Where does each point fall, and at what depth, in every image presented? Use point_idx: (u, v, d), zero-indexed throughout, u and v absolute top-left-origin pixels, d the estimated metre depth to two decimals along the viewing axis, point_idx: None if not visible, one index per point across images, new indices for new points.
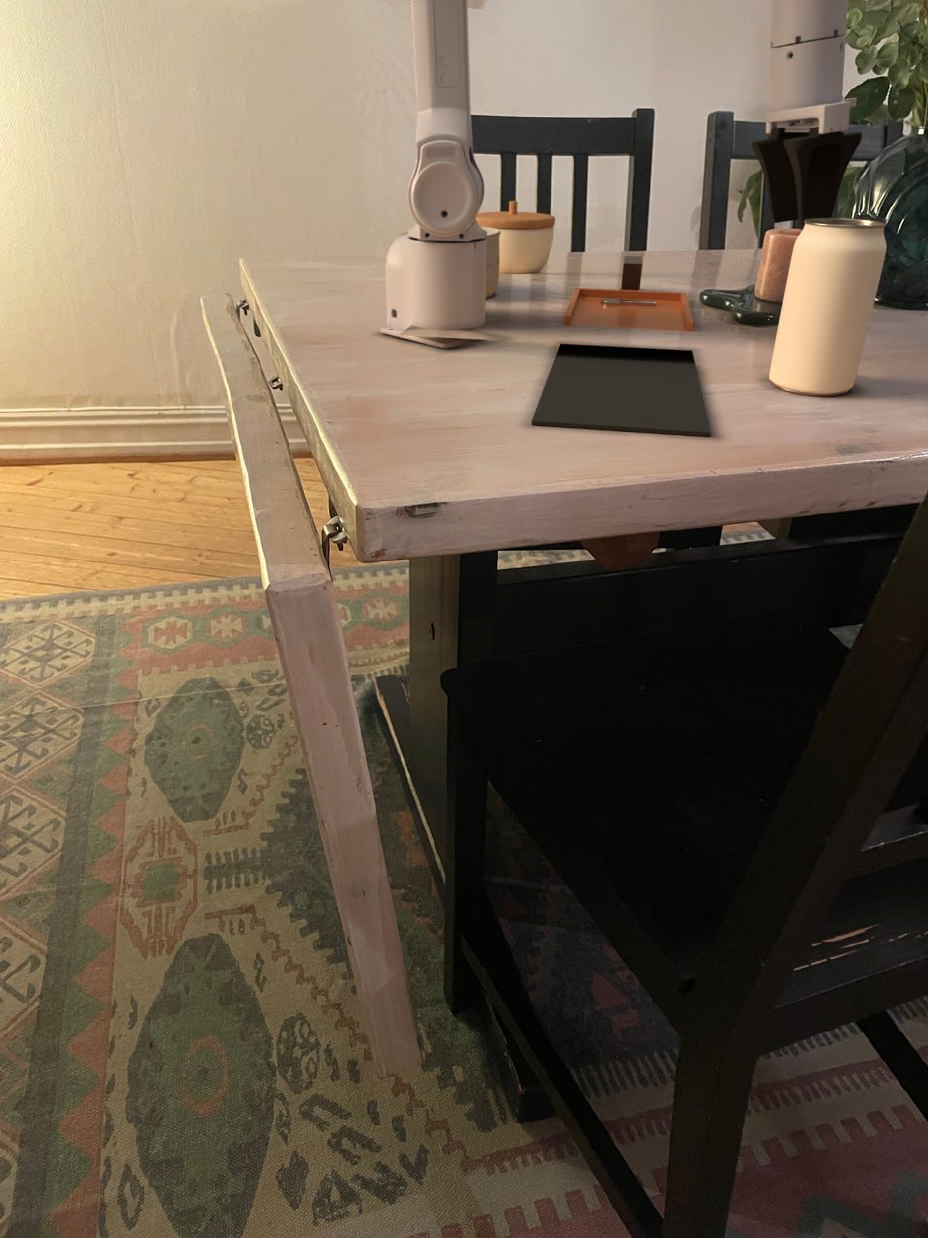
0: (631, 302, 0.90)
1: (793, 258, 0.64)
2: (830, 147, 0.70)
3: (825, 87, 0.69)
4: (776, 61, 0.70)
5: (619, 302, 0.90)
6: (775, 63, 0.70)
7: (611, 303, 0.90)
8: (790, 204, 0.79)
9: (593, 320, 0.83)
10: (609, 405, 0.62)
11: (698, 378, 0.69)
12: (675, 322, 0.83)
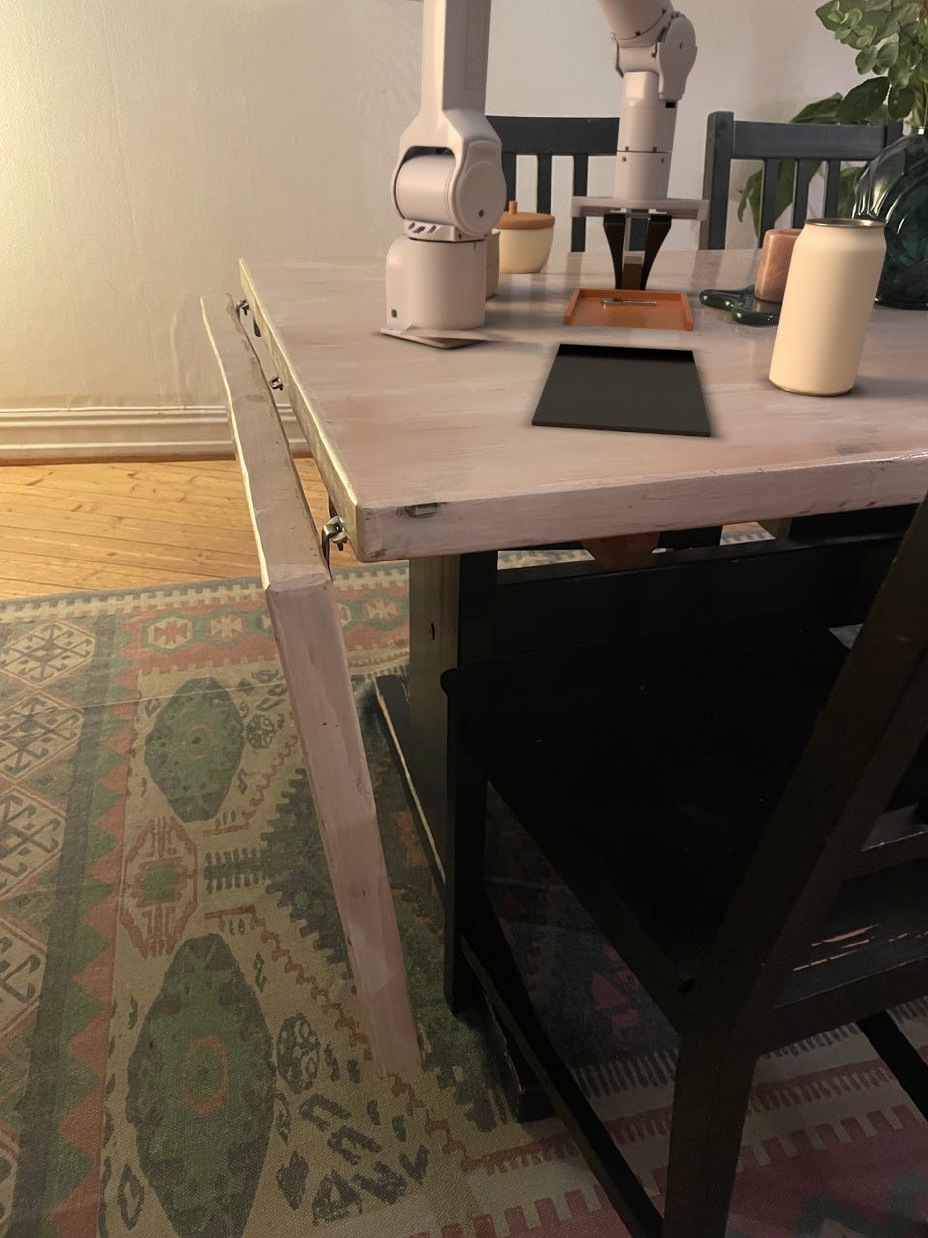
0: (631, 302, 0.90)
1: (793, 258, 0.64)
2: None
3: None
4: (652, 163, 0.88)
5: (619, 302, 0.90)
6: (650, 164, 0.88)
7: (611, 303, 0.90)
8: (622, 274, 0.97)
9: (593, 320, 0.83)
10: (609, 405, 0.62)
11: (698, 378, 0.69)
12: (675, 322, 0.83)
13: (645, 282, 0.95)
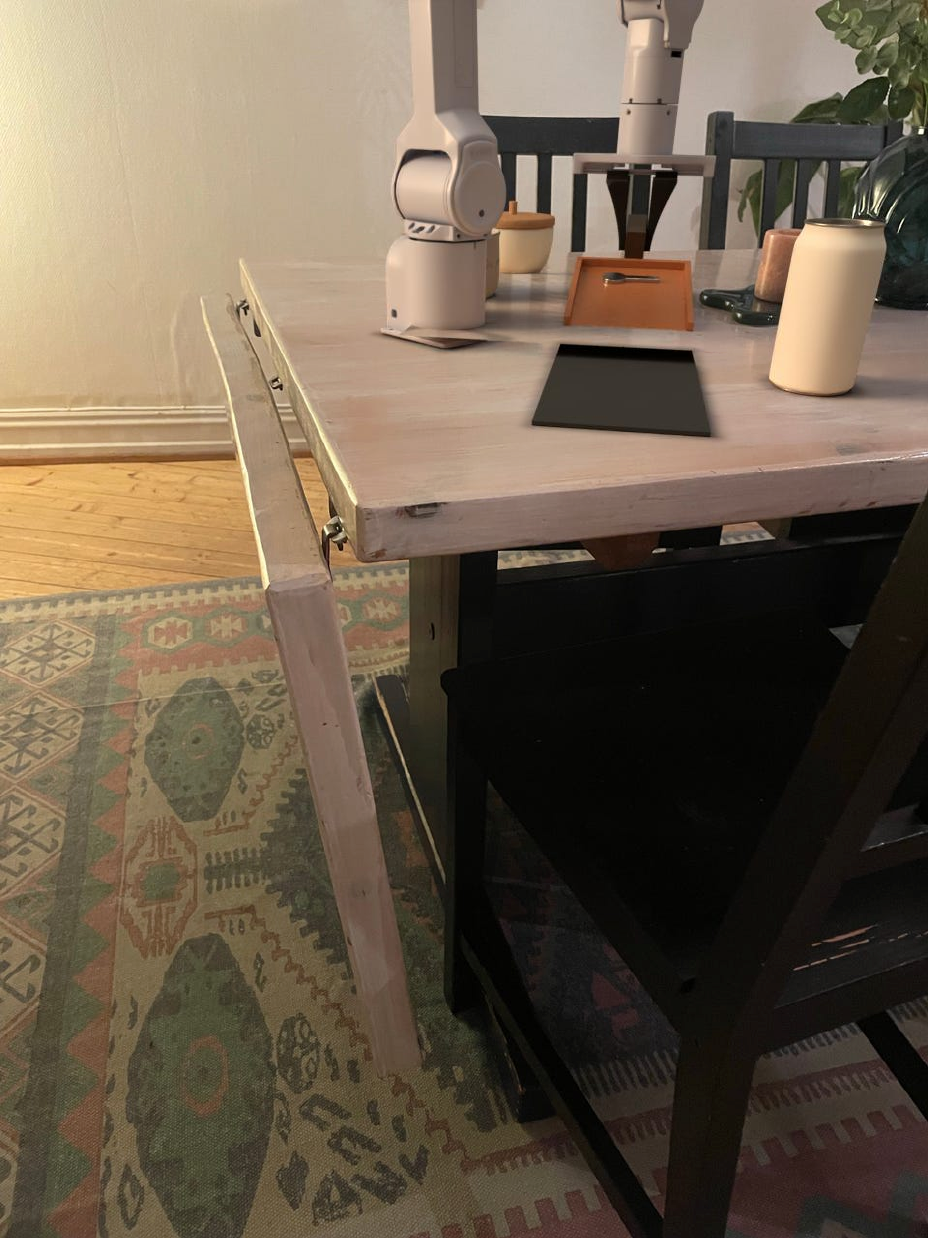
0: (633, 279, 0.89)
1: (793, 258, 0.64)
2: None
3: None
4: (657, 115, 0.85)
5: (621, 280, 0.89)
6: (655, 116, 0.85)
7: (613, 281, 0.89)
8: None
9: (593, 314, 0.83)
10: (609, 405, 0.62)
11: (698, 378, 0.69)
12: (676, 315, 0.82)
13: (650, 242, 0.92)
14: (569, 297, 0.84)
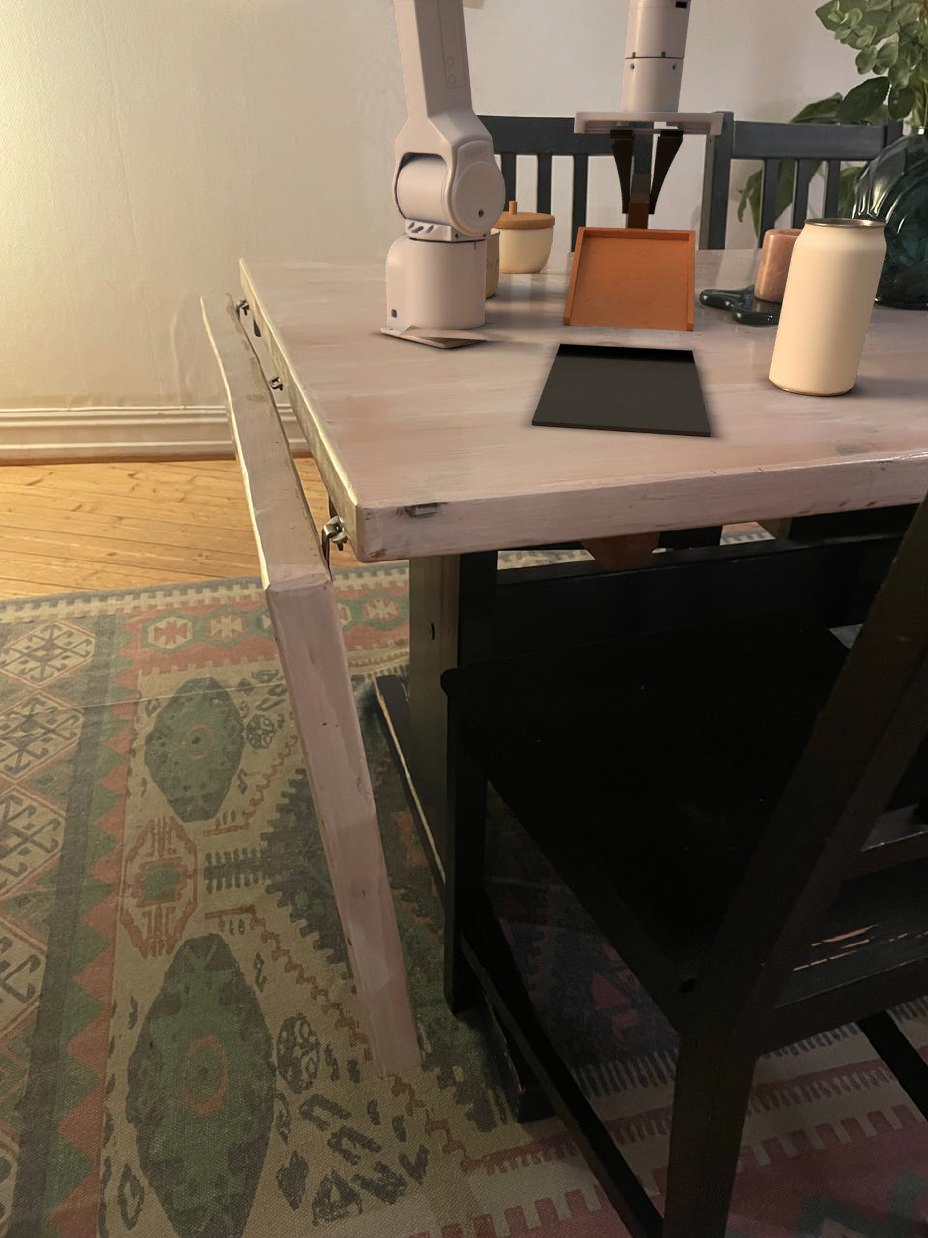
0: None
1: (793, 258, 0.64)
2: None
3: None
4: (662, 70, 0.82)
5: None
6: (660, 71, 0.82)
7: None
8: None
9: (594, 309, 0.83)
10: (609, 405, 0.62)
11: (698, 378, 0.69)
12: (677, 308, 0.82)
13: (654, 204, 0.89)
14: (569, 289, 0.84)
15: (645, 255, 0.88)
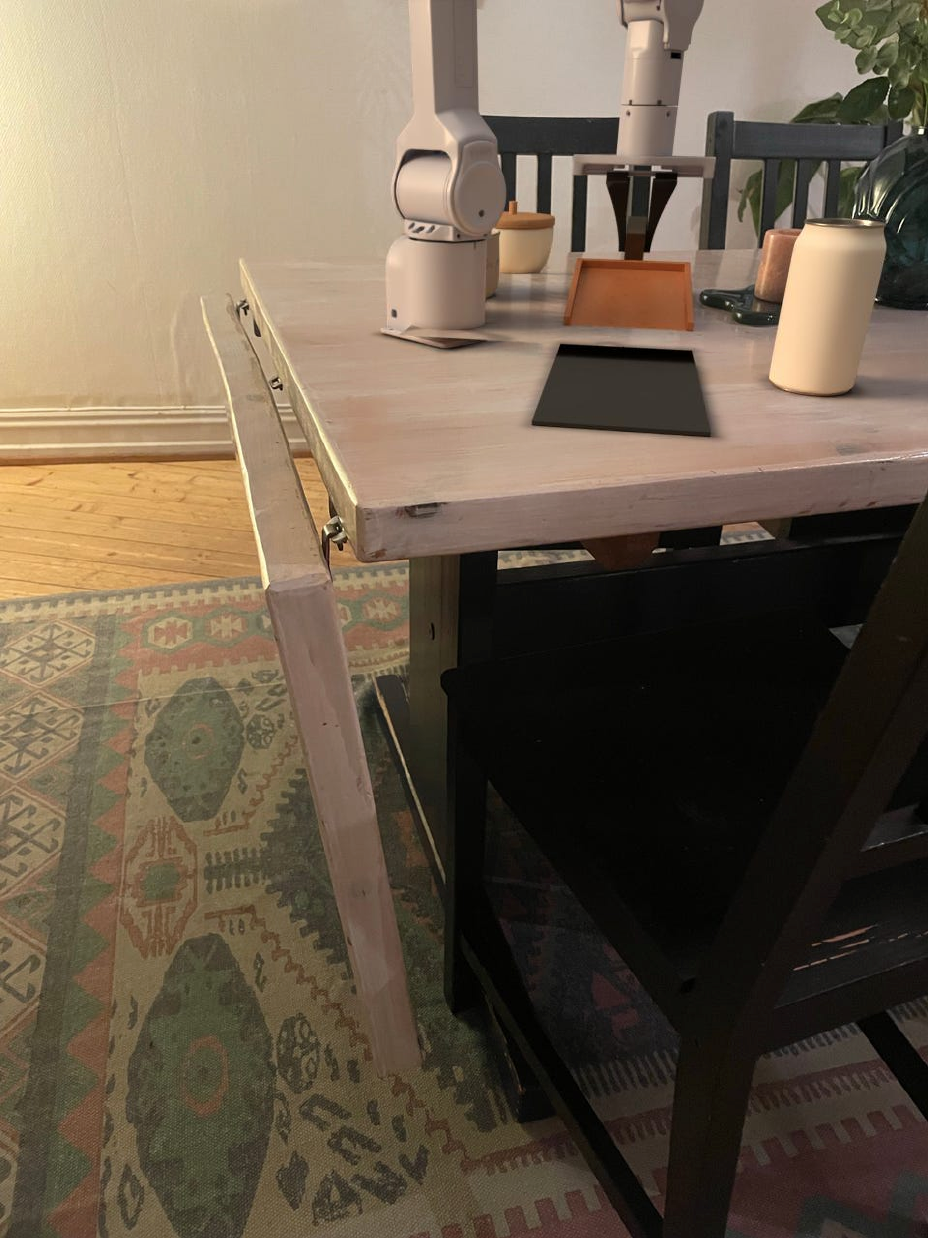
0: None
1: (793, 258, 0.64)
2: None
3: None
4: (657, 117, 0.85)
5: None
6: (655, 118, 0.85)
7: None
8: None
9: (593, 315, 0.83)
10: (609, 405, 0.62)
11: (698, 378, 0.69)
12: (676, 315, 0.83)
13: (650, 243, 0.92)
14: (569, 297, 0.84)
15: (642, 280, 0.90)
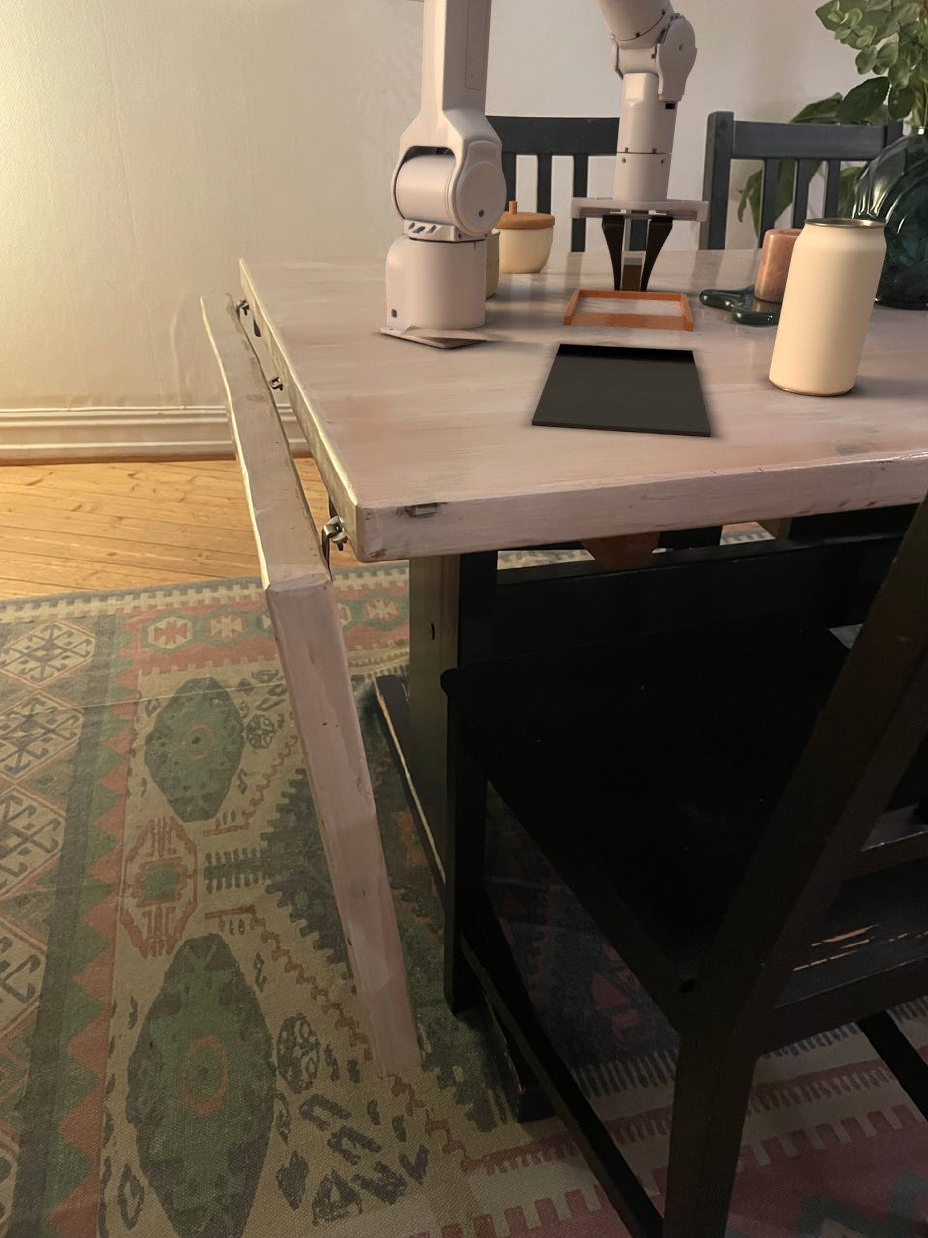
0: None
1: (793, 258, 0.64)
2: None
3: None
4: (652, 164, 0.88)
5: None
6: (650, 165, 0.88)
7: None
8: None
9: (593, 320, 0.83)
10: (609, 405, 0.62)
11: (698, 378, 0.69)
12: (675, 322, 0.83)
13: (646, 283, 0.95)
14: (568, 307, 0.85)
15: None
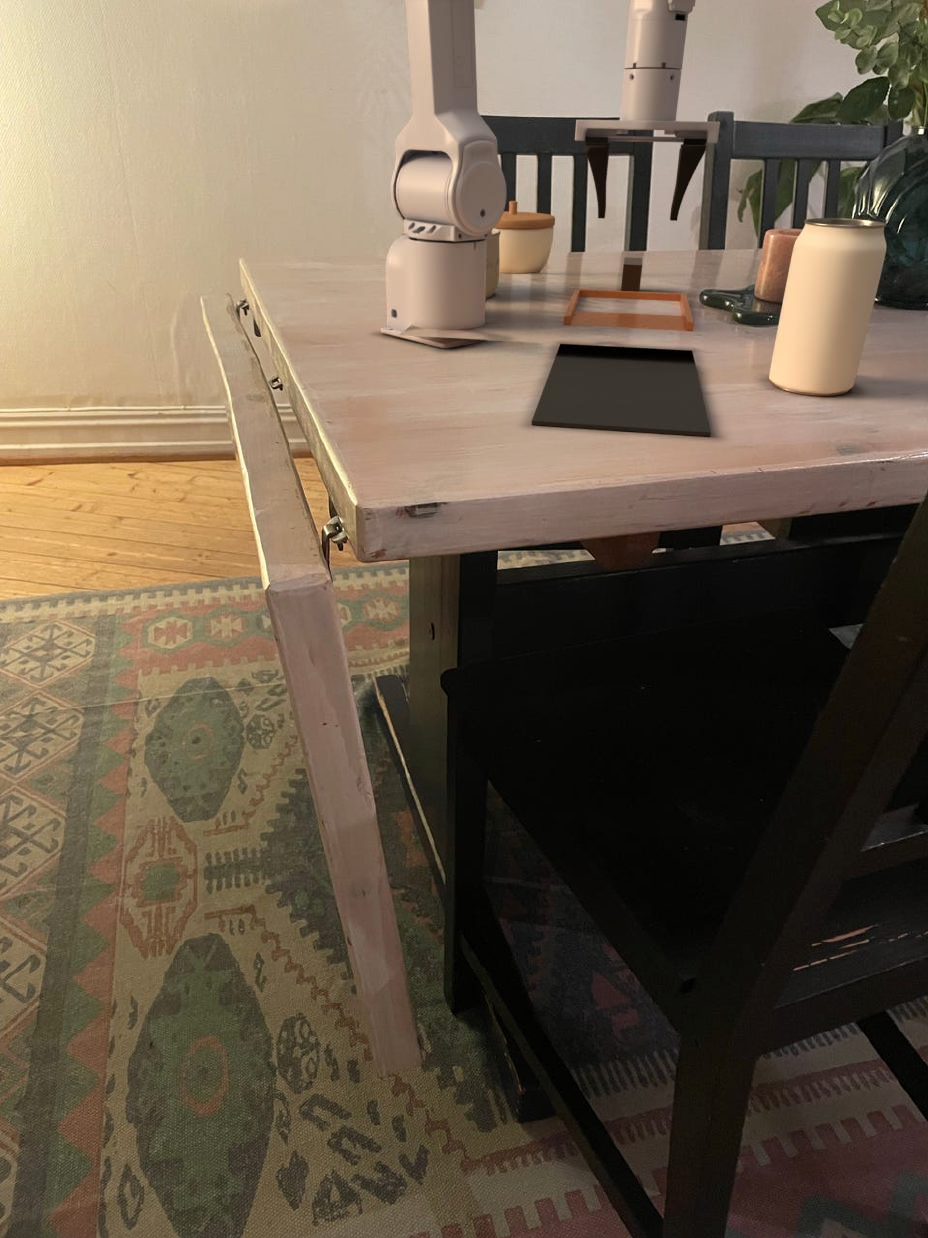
0: None
1: (793, 258, 0.64)
2: None
3: None
4: (661, 80, 0.84)
5: None
6: (659, 81, 0.84)
7: None
8: None
9: (593, 320, 0.83)
10: (609, 405, 0.62)
11: (698, 378, 0.69)
12: (675, 322, 0.83)
13: (677, 211, 0.91)
14: (568, 307, 0.85)
15: None
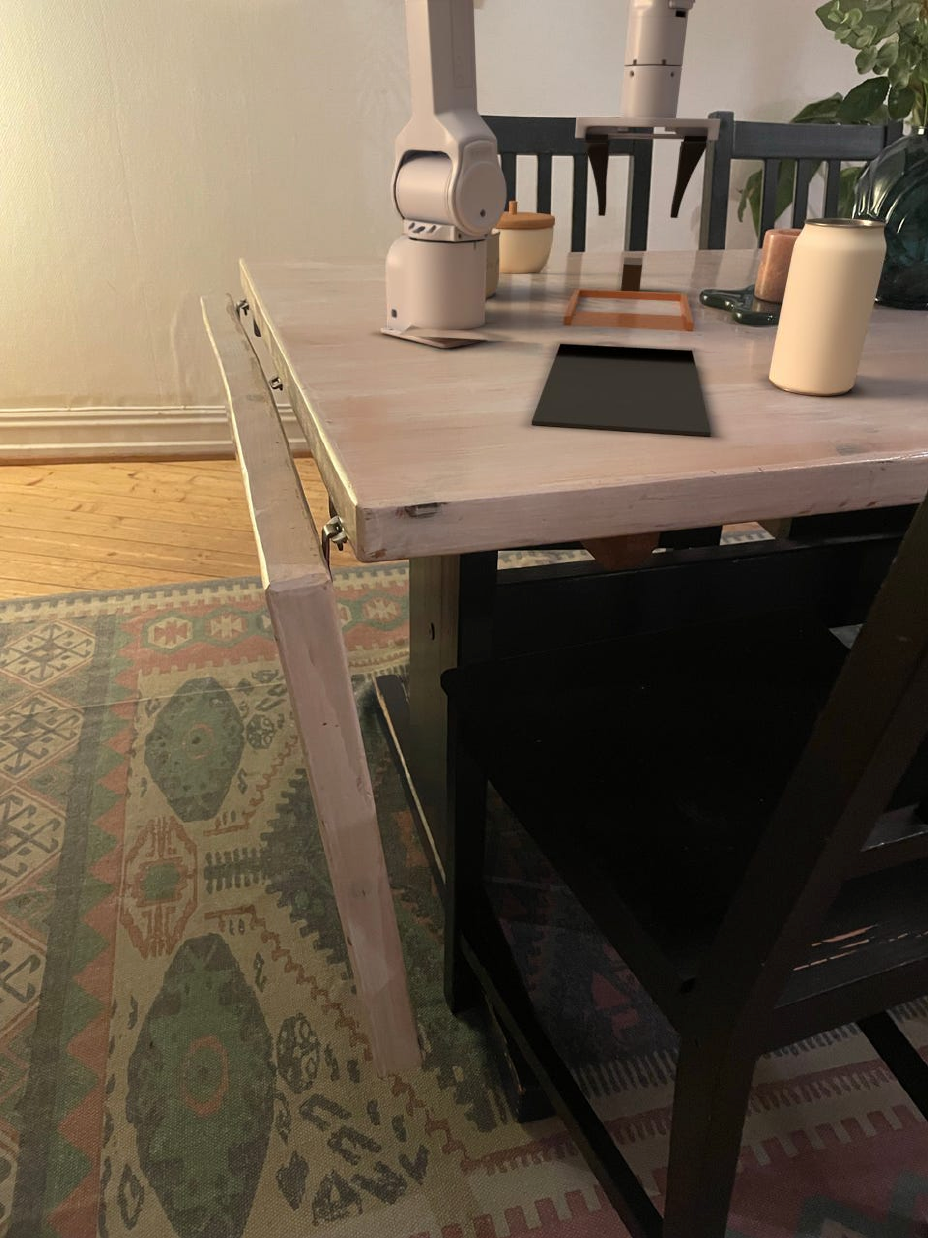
0: None
1: (793, 258, 0.64)
2: None
3: None
4: (661, 77, 0.84)
5: None
6: (659, 78, 0.84)
7: None
8: None
9: (593, 320, 0.83)
10: (609, 405, 0.62)
11: (698, 378, 0.69)
12: (675, 322, 0.83)
13: (677, 208, 0.91)
14: (568, 307, 0.85)
15: None
